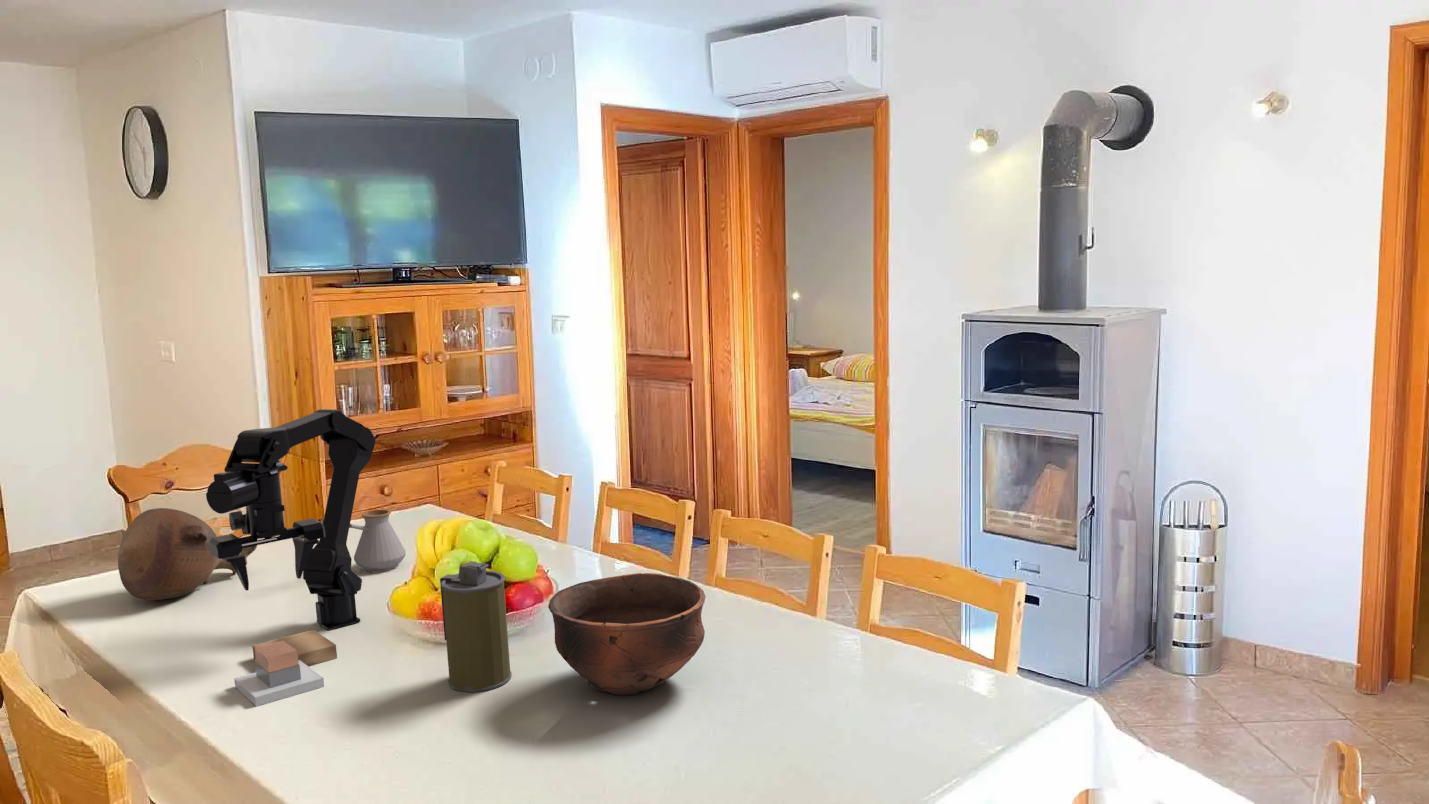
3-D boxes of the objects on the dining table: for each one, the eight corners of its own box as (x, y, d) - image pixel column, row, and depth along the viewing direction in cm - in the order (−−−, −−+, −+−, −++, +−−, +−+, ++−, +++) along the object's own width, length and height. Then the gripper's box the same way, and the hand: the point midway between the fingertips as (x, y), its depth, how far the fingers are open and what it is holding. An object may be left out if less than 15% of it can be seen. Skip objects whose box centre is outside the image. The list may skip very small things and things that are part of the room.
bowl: (587, 731, 159) (581, 633, 157) (534, 675, 181) (528, 588, 179) (734, 693, 170) (731, 601, 168) (668, 645, 192) (664, 563, 190)
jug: (133, 619, 218) (267, 601, 242) (149, 527, 215) (282, 518, 240) (85, 585, 229) (218, 571, 254) (100, 497, 226) (232, 491, 251)
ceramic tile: (300, 668, 188) (299, 660, 188) (324, 686, 180) (323, 677, 179) (235, 686, 181) (234, 678, 181) (256, 706, 173) (255, 697, 172)
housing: (301, 679, 179) (298, 650, 178) (270, 688, 176) (267, 659, 175) (286, 667, 184) (283, 640, 184) (256, 676, 181) (253, 648, 181)
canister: (523, 670, 183) (515, 557, 180) (491, 695, 173) (482, 575, 170) (467, 664, 187) (459, 553, 184) (433, 688, 177) (424, 571, 174)
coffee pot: (384, 557, 256) (379, 495, 253) (417, 563, 249) (412, 500, 247) (306, 582, 238) (300, 516, 236) (339, 589, 232) (333, 522, 230)
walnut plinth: (314, 642, 200) (313, 629, 200) (337, 658, 192) (335, 644, 192) (253, 658, 193) (252, 645, 193) (274, 675, 185) (273, 661, 185)
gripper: (300, 484, 204) (308, 563, 206) (195, 502, 192) (205, 586, 194) (322, 493, 195) (330, 575, 198) (214, 512, 183) (223, 600, 186)
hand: (273, 584), depth 194 cm, fingers open, 9 cm apart
